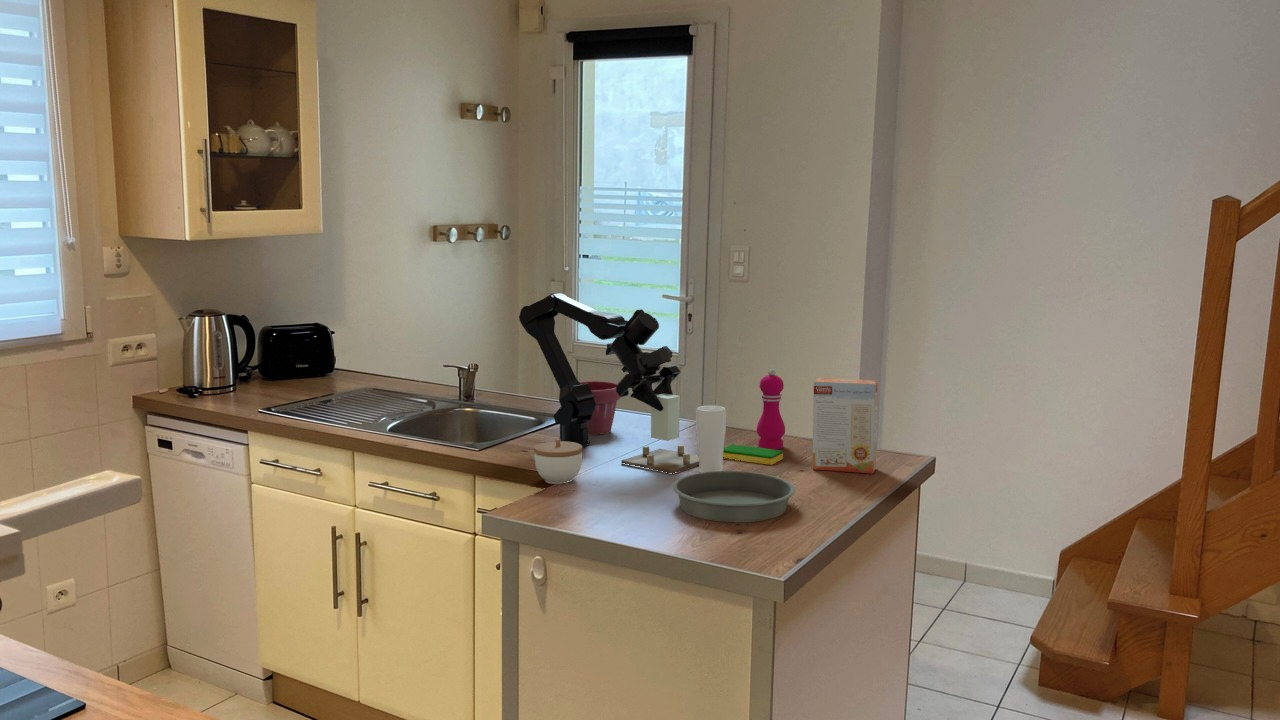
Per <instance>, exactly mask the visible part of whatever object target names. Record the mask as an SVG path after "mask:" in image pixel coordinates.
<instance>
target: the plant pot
mask: <svg viewBox="0 0 1280 720" xmlns="http://www.w3.org/2000/svg"><path fill="white" fill-rule="evenodd" d="M579 382H580V383H581V384H587V383H588V385H589V386H590V389H591V391H592V393H593V395H594V396H595V398H594V399H595V403H596V406H595V409H594V412H593V414H592V417H591V420H588V421H585V422H587V428H588V434H589V435H590V436H598V434H600V435H606V434H609V433H610V432H611V431H612V427H613V423H614V418H615V414H616V409H617V402H618V401H619V400H620V399H621V397H619V395H618V394H617V392H616V385H617V384H618V382H617V383H616V382H612V381H602V380H585V381H579ZM605 433H606V434H605ZM589 435H588V436H589Z"/></svg>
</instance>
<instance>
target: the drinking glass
mask: <svg viewBox="0 0 1280 720" xmlns="http://www.w3.org/2000/svg"><path fill="white" fill-rule="evenodd" d="M726 409H727V408H726V407H724V406H720V405H715V404H714V405H711V404H710V405H707V404H706V405H700V406H697V407H696V412H695V413H696V414H695V415H696V417H695V427H696V438H697V439H696V440H697V453H698V455H699V466H698V470H699V473H703V472H712V471H723V470H724V469H723V465H724V464H723V463H724V462H723V461H724V458H723V452H724V448H725V441H726V429H727V410H726Z"/></svg>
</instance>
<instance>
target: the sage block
mask: <svg viewBox="0 0 1280 720" xmlns="http://www.w3.org/2000/svg"><path fill="white" fill-rule="evenodd" d="M656 396H657V398H658V399H659V401H660V403H661V404H662V406H663V410H662V411H658V410H657V409H655V408H653V407H651V406H650V438H651V439H656V440H662V441H666V442H668V441H672V440H675V439H679V438H680V416H681V415H680V413H681V412H680V411H681V410H680V405H681V403H680V402H681V401H680V399H681V398H680V397H681V396H680V395H677V394H676V395H675V394H673V395H671V394H664V393H662V394H658V395H656Z"/></svg>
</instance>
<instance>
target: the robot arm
mask: <svg viewBox="0 0 1280 720" xmlns="http://www.w3.org/2000/svg"><path fill="white" fill-rule="evenodd" d="M560 314H561V315H563V316H565V317H567V318H568V319H571V320H573V321H576V322H577V323H580V324H582V325H584V326H585V327H587V328H588V330H589V332H590V333H591V334H592V335H594V336H595V337H597V338H598V339H599V340H601V341H602V340H603V341H605V340H612V339H614V340H613V341H612V342H610V343H607V344H606V350H605V355H606V356H610V355H611V356H612V355H615V356H616V358H617V360H619V362H620V364H621V365H622V366H623V367H622V368H621V371H622V372H623V373H626V374H625V375H624V376H623V377H622V378H621V380H620V381H619V382H617V385H616V392H617V394H618V395H619V397H620V398H624V397H628V396H629V392H630V390H629V389H631V391H632V393H631V394H630V398H632V399H633V398H634V399H636V400H638V401H640V402H642V403H644V404H646V405H647V406H650V408H651V407H653V408H655V409H657V410H658V411H662V410H663V406H662V404H661V403H660V401H659V399H658V398H657V396H656V395H658V394H662V393H664V394H671V395H674V394H673V390H672V383H673V382H674V380H676V378H678V376H679V375H680V374H681V373H682V372H681V370H680V369H679V368H678V366H677V365H673V364H671V365H667V366H666V365H665V366H663V367H661V365H664V364H666V363H670V362H672V360H671V359H672V358H673V352H672V350H671V349H670V348H669V346H667V345H663V346H661V347H658V348H657V349H655V350H653V351H651V352H648V351H645V352H643V350H642V349H641V348H640V346H644V345H645V344H647V342H648V341H649V340H650V339H651V338H652V337H653V336H654V334H655V333H656V332H657V331H658V330H659V327H660V325H659V321H658V320H657V319H656V317H653V316H652V315H651V314H649V313H647V312H645V311H644V309H643V308H641V309H640V308H639V309H636V310H635V311H634V313H632V316H631V317H630V318H629V319H628V320H627V319H625V318H624V316H623V315H621V314H617V313H613V312H610V311H601V310H596V309H594V308H592V307H591V306H588V305H586V304H583V303H582V302H579V301H577V300H576V299H575V300H574V299H573V298H570V297H568V296H567V295H566V294H564V293H551V294H549V295H546V296H545V297H544V298H542V299H541V300H540V299H539V301H536V302H534V303H532V304H530V305H529V304H528V305H524V306H522V308H521V309H520V313H519V315H518V318H519V322H520V324H521V326H522V327H523V330H525V332H526V333H527V334H528V335H529V336H531V337H532V338H533V339H534V340H536V342H537V344H538V346H539V348H540V350H541V352H542V355H543V356H544V359H545V360H546V362H547V365H548V367H549V369H550V372H551V374H552V375H553V377H554V380H555V382H556V383H557V386H558V388H559V396H558V401H559V404H560V407H559V408H558V410H557V411H556V412H555V413H554V414H553V419H554V423H555V424H558V425H559V439H560V441H567V442H574V443H578V444H580V445H582V448H584V447H586V446H588V445H591V442H590V441H589V435H588V428H587V422H585V421H588V420H591V417H592V414H593V412H594V409H595V406H596V403H595V399H594V398H595V396H594V395H593V393H592V391H591V389H590V386H589V385H588V383H587V384H581V383H580V382H581V381H579V380H578V379H577V377H576V374H575V372H574V371H573V368H572V366H571V365H570V362H569V360H568V358H567V356H566V354H565V352H564V350H563V348H562V346H561V343H560V341H559V340H558V338H557V335H556V332H555V326H556V320H555V318H556V317H557V316H558V315H560ZM659 370H660V371H659ZM658 371H659V372H658ZM657 372H658V373H657ZM653 387H654V389H653Z"/></svg>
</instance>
